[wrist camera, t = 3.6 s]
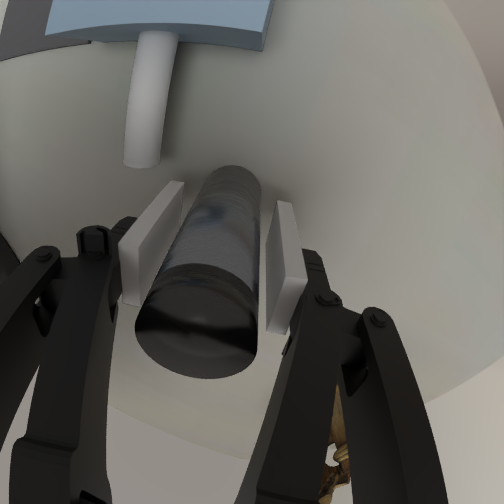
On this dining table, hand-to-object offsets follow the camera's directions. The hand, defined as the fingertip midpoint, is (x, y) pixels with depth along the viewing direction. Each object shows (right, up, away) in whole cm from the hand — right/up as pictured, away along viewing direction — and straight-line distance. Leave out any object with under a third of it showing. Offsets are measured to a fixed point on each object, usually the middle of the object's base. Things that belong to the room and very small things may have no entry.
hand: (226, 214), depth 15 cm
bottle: (0, +2, +3) cm, 3 cm away
